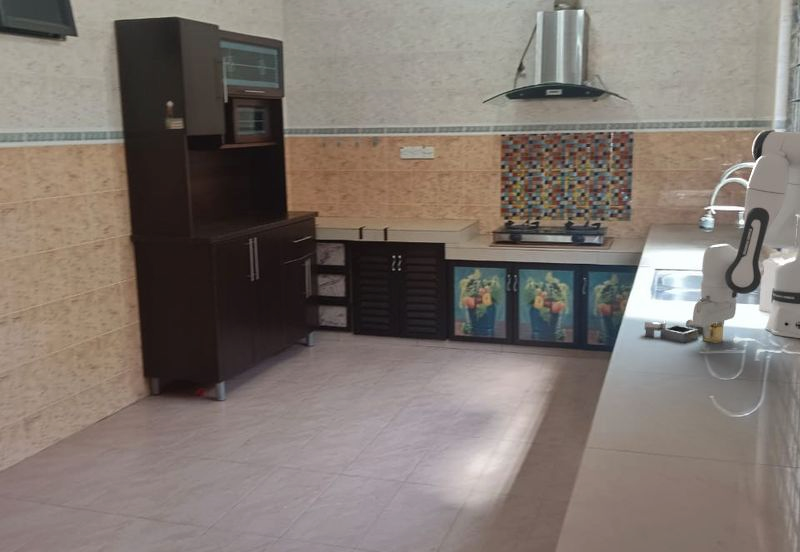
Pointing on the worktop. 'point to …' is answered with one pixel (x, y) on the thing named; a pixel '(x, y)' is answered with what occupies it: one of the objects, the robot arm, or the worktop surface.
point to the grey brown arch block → (653, 328)
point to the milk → (768, 281)
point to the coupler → (714, 334)
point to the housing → (679, 333)
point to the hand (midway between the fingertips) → (712, 335)
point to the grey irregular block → (690, 325)
